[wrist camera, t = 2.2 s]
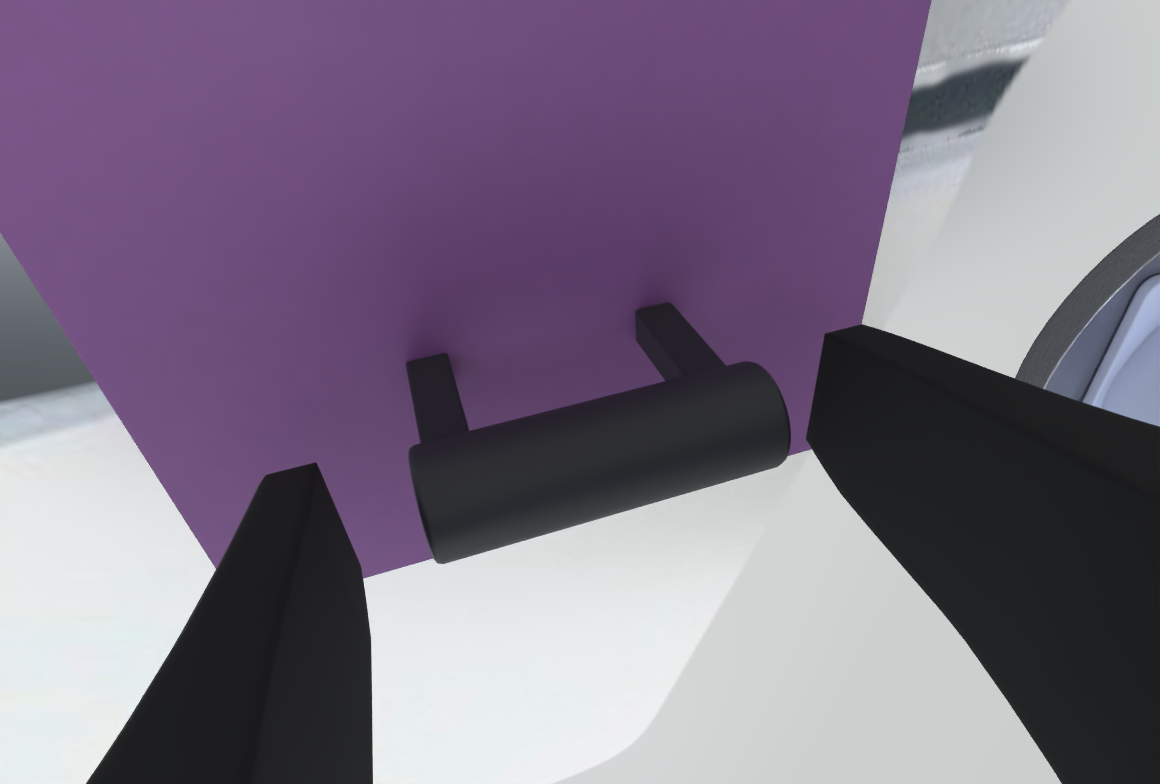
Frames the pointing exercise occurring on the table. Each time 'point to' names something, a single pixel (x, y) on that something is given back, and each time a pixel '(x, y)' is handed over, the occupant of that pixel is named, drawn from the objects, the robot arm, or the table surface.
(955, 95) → the table surface
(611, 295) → the box cover
